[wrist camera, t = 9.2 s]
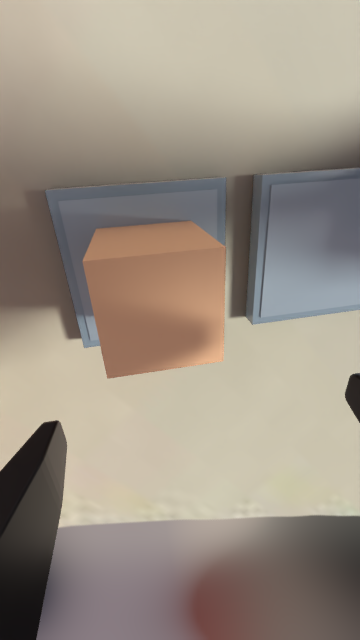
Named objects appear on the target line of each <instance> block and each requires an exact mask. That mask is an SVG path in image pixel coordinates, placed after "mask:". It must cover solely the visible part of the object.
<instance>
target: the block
mask: <svg viewBox="0 0 360 640" xmlns="http://www.w3.org/2000/svg"><path fill="white" fill-rule="evenodd" d="M82 262H83V266H84V271H85V276H86V280H87V285H88V290H89V294H90V299H91V304H92V308H93V313H94V318H95V322H96V327H97V332H98V336H99V341H100V346H101V350H102V355H103V360H104V364H105V369H106V374H107V378H114V377H121V376H128V375H134V374H141V373H148V372H154V371H161V370H167V369H174V368H181V367H187V366H194V365H201V364H207V363H214V362H221V361H223V356H224V311H225V266H226V247H225V246H224V245H222V244H221V243H220V242H218V241H217V240H216V239H215V238H213V237H212V236H211V235H209V234H208V233H207V232H205V231H204V230H203V229H201V228H200V227H199V226H197V225H196V224H195V223H194V222H192V221H181V222H169V223H158V224H146V225H134V226H122V227H110V228H99V229H96V230H95V233H94V235H93V237H92V240H91V242H90V244H89V247H88V249H87V252H86V254H85V256H84V259H83V261H82Z"/></svg>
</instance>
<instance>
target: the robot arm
mask: <svg viewBox="0 0 360 640" xmlns="http://www.w3.org/2000/svg"><path fill="white" fill-rule="evenodd" d="M345 398H346V401H347V403H348V404H349V406H350V408H351V409H352V411H353V413H354V414H355V416H356V418H357V419H358V421H359V423H360V373H356V374H352V375H351V376H350V378H349V381H348V385H347V388H346V392H345ZM66 453H67V442H66V438H65V435H64V432H63V429H62V426H61V423H60V422H59V421H57V420H56V421H49V422H45V423H43V424H42V425H41V426H40V427H39V428H38V429H37V430H36V431H35V432H34V434H33V435H32V436H31V437H30V438H29V439H28V440H27V442H26V443H25V444H24V445H23V446H22V447H21V448H20V450H19V451H18V452H17V453H16V454H15V455H14V456H13V457H12V459H11V460H10V461H9V462H8V463H7V464H6V465H5V467H4V468H3V469H2V470H1V471H0V640H36V638H37V633H38V628H39V623H40V617H41V612H42V607H43V601H44V597H45V591H46V586H47V581H48V576H49V571H50V565H51V560H52V555H53V550H54V545H55V539H56V534H57V529H58V524H59V519H60V514H61V508H62V500H63V489H64V477H65V465H66Z"/></svg>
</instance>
